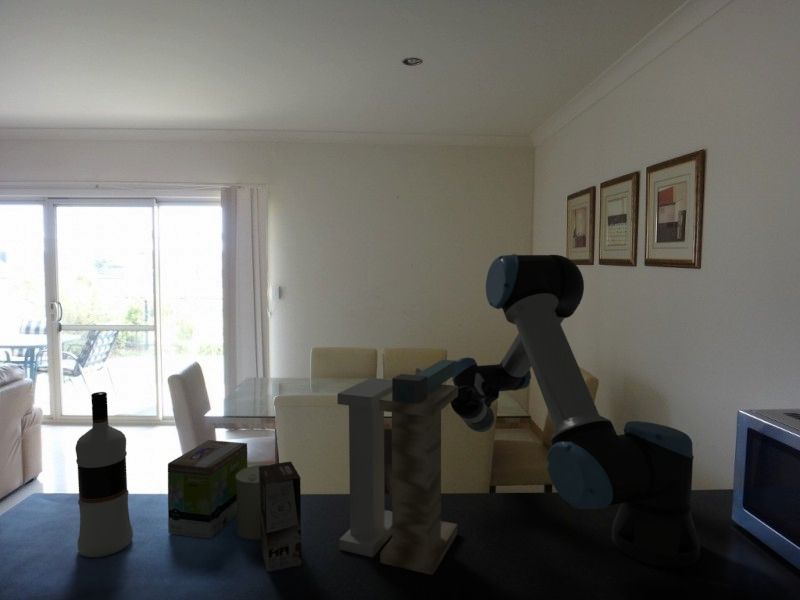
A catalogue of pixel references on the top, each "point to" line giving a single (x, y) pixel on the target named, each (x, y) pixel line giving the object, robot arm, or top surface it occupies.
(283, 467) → the coffee box
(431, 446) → the pedestal
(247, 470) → the can
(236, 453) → the tea box
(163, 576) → the top surface
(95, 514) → the vodka
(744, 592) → the top surface
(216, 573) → the top surface
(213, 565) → the top surface
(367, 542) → the stand
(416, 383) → the teal bar
